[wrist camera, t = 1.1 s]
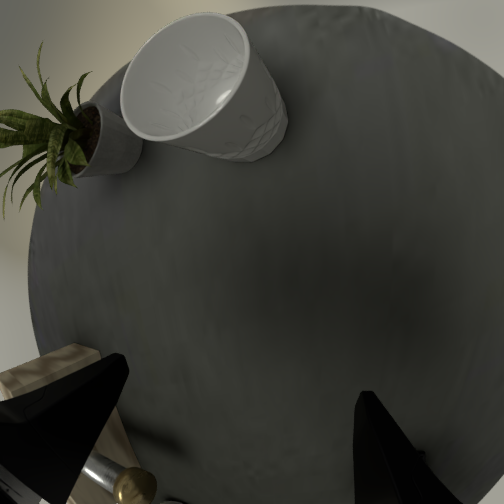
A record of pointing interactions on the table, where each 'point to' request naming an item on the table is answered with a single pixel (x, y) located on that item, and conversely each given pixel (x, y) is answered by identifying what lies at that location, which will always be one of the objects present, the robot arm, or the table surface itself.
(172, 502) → the teacup
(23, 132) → the house plant
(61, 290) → the table surface
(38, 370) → the birch beam
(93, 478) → the axle
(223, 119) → the white cup
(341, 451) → the table surface
